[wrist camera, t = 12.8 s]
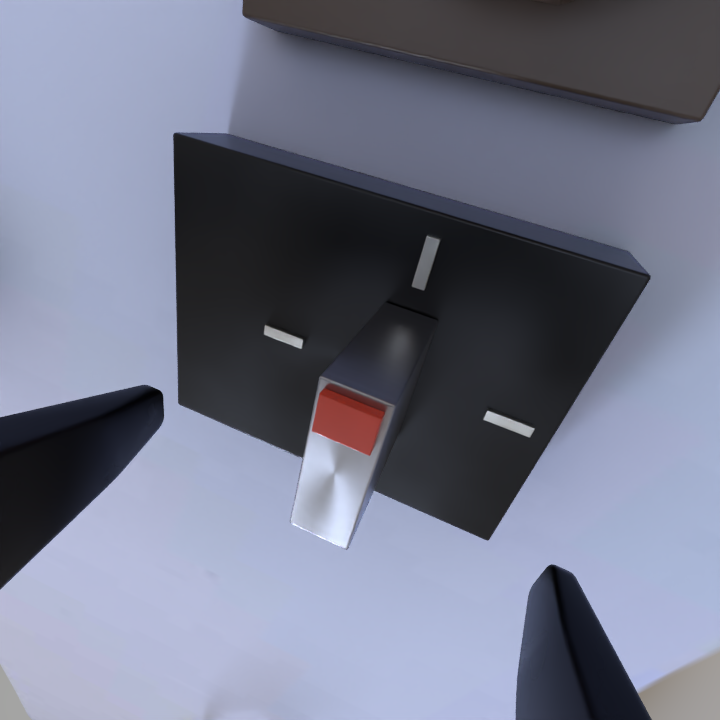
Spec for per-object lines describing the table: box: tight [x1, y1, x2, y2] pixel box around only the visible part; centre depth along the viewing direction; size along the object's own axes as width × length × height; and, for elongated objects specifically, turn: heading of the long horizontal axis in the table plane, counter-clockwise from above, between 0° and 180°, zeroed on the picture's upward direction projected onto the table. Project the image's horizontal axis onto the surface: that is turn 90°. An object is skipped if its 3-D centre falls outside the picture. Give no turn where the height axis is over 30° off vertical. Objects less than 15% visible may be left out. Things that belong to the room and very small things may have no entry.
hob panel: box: [173, 133, 651, 540], centre depth 14 cm, size 13×10×3 cm
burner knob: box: [290, 302, 438, 550], centre depth 11 cm, size 5×2×5 cm, turn 168°
